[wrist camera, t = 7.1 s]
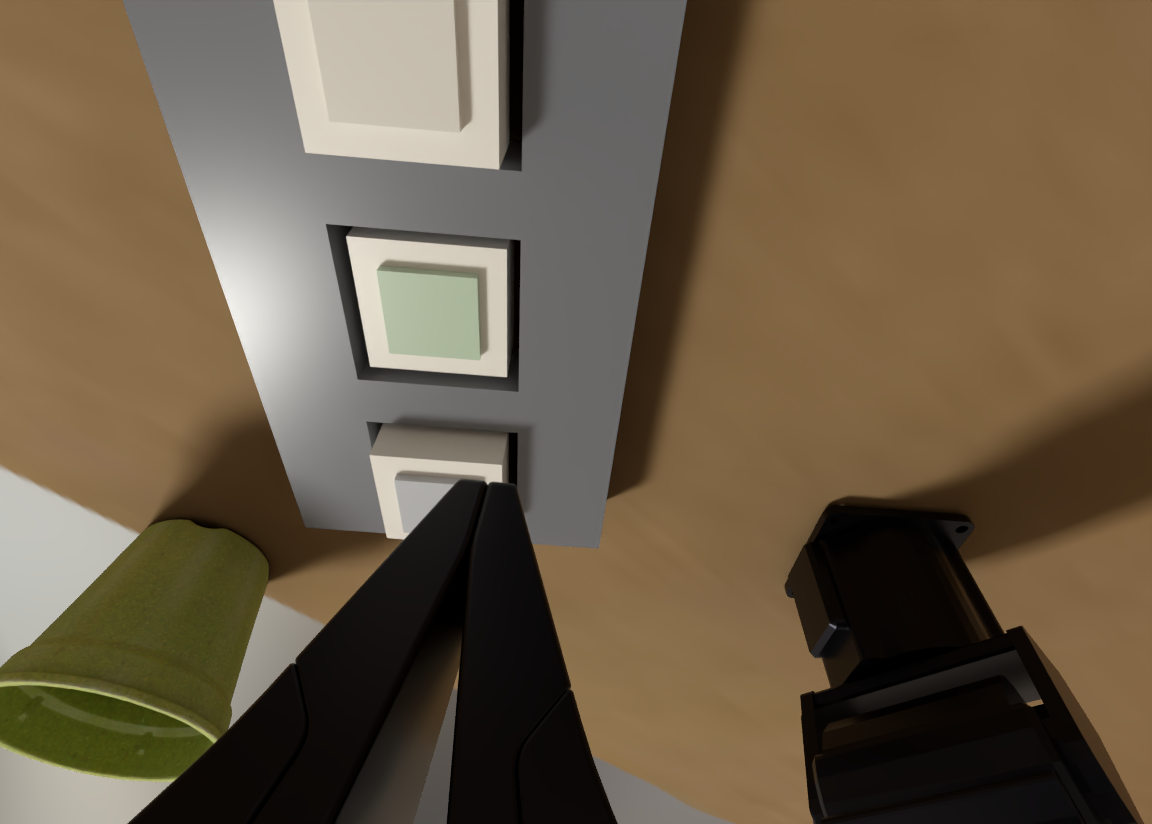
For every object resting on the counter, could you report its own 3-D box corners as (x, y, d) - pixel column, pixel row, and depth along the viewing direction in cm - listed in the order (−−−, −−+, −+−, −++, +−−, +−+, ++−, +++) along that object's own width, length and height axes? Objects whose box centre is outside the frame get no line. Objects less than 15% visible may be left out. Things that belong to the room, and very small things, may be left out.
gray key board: (798, -833, 8) (856, -1049, 6) (598, 503, 26) (598, 548, 24) (-89, -947, 8) (-297, -1209, 6) (326, 484, 26) (305, 527, 24)
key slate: (509, 425, 21) (500, 471, 19) (508, 506, 24) (501, 552, 22) (386, 415, 21) (366, 461, 19) (400, 498, 24) (384, 544, 22)
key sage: (514, 220, 18) (505, 254, 16) (514, 342, 21) (505, 383, 19) (367, 208, 18) (342, 240, 16) (387, 333, 21) (367, 372, 19)
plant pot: (203, 468, 26) (64, 663, 19) (344, 585, 31) (274, 768, 24) (62, 522, 28) (-103, 708, 22) (214, 620, 34) (120, 793, 27)
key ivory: (509, -82, 12) (494, -80, 10) (509, 143, 15) (497, 174, 13) (294, -102, 12) (243, -105, 10) (335, 128, 15) (300, 156, 13)
